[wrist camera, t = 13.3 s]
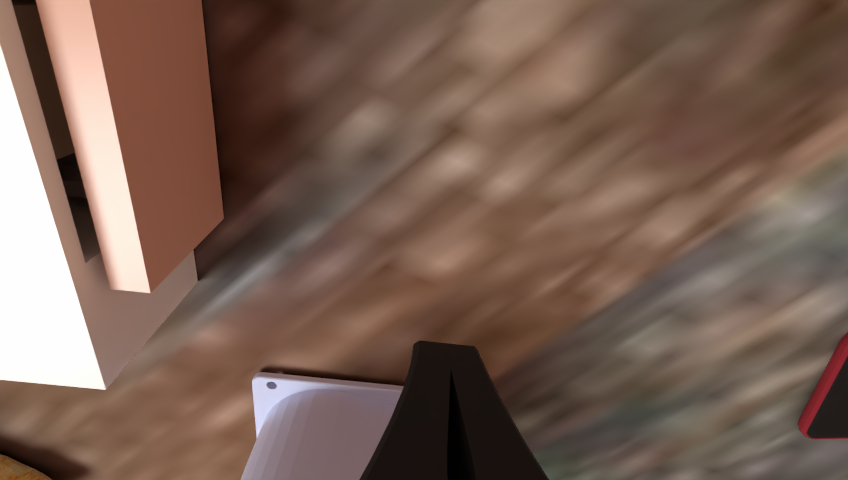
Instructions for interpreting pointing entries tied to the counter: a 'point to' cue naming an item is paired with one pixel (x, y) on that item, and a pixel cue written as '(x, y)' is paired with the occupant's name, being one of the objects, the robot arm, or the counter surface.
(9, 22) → the cabinet
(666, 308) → the counter surface
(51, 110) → the maple cube
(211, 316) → the counter surface
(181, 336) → the counter surface
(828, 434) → the smartphone
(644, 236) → the counter surface
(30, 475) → the croissant
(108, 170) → the drawer
